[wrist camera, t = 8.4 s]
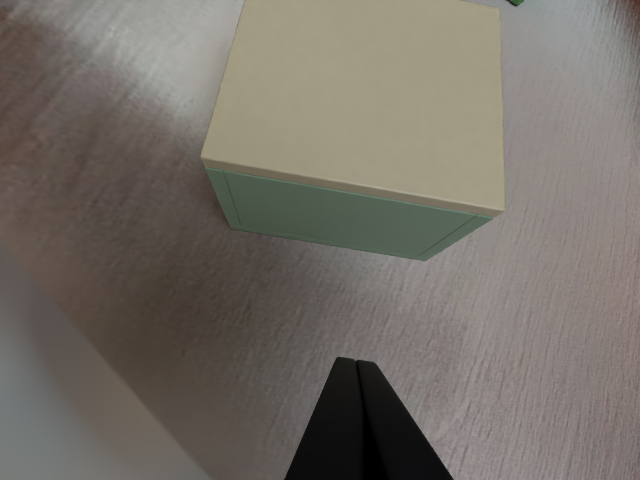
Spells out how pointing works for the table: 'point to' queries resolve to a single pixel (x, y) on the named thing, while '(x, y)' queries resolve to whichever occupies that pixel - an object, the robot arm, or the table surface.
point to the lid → (367, 100)
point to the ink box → (517, 2)
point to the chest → (338, 216)
